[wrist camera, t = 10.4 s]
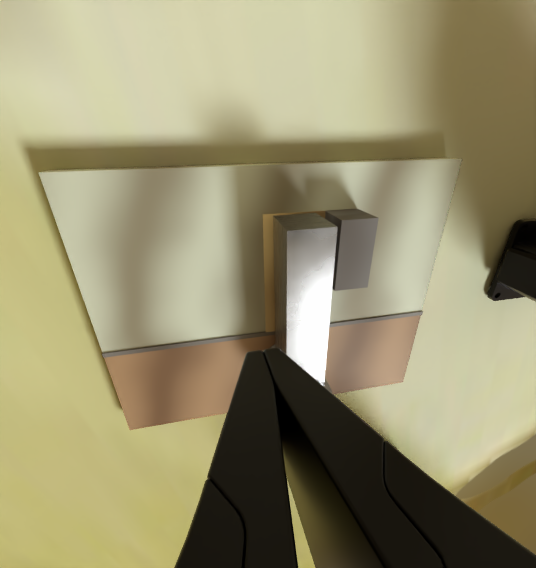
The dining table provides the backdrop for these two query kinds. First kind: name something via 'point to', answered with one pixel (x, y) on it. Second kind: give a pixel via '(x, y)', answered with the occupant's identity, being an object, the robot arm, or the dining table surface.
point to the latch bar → (304, 288)
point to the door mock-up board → (244, 269)
